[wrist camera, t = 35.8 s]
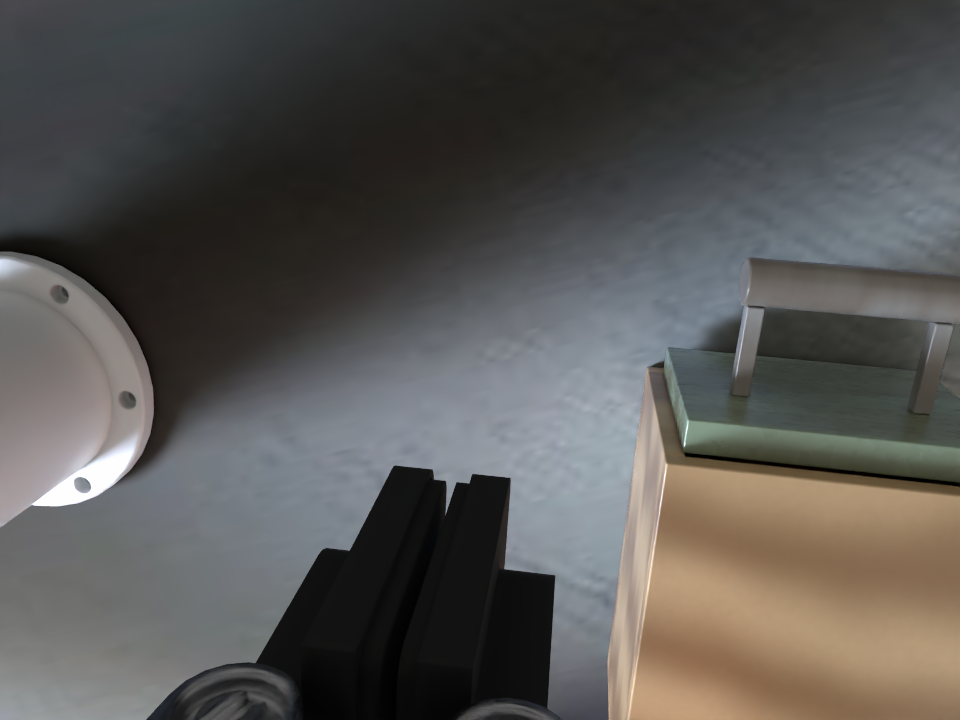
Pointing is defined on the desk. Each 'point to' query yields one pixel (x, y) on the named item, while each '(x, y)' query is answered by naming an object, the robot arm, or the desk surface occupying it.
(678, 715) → the cabinet
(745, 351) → the drawer
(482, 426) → the desk surface
